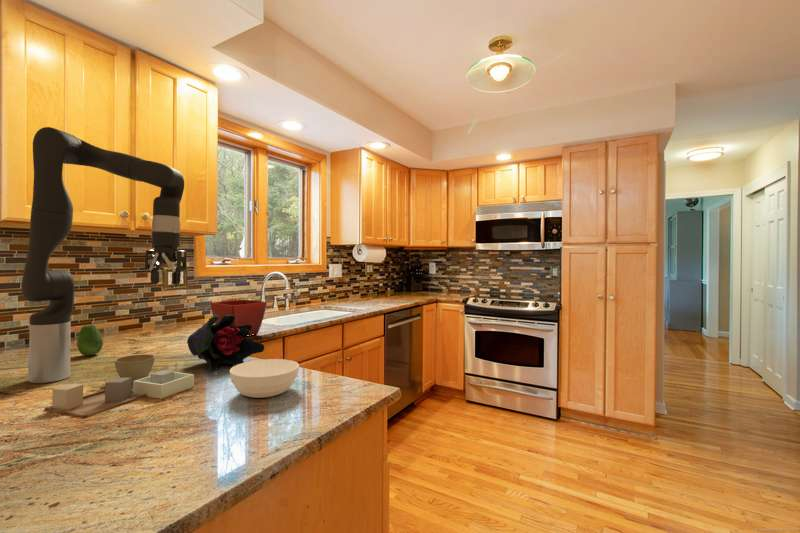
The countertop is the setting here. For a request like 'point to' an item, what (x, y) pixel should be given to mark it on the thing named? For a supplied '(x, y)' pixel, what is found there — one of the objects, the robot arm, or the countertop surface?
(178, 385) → the green bin
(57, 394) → the stone sand
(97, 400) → the walnut tray
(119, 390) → the stone basalt
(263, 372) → the bowl
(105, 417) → the countertop surface
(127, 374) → the flower pot
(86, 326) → the avocado
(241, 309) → the plant pot
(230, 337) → the decorative plant
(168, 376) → the stone slate
